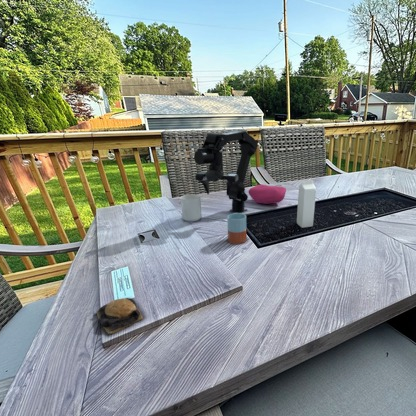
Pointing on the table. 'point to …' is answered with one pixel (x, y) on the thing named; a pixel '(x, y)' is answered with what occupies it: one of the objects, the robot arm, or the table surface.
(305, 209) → the milk
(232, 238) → the cup
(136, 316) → the brown and black burger
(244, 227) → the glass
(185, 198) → the mug
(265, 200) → the pink bowl shaped lump
